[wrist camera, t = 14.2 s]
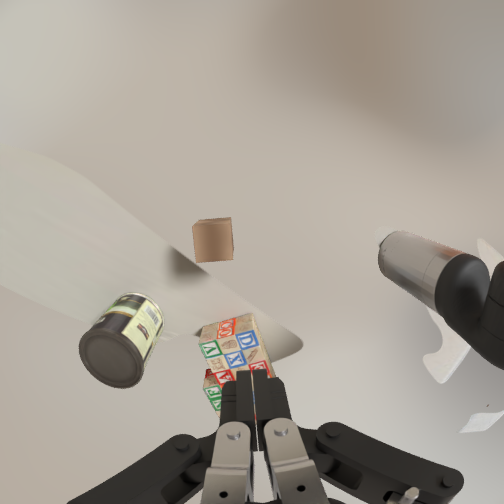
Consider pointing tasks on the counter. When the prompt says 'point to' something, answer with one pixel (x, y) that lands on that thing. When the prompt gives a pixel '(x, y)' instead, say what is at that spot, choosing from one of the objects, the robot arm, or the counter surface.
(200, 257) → the walnut block
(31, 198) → the counter surface
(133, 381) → the coffee can
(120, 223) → the counter surface
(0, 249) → the counter surface
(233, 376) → the stack of blocks
